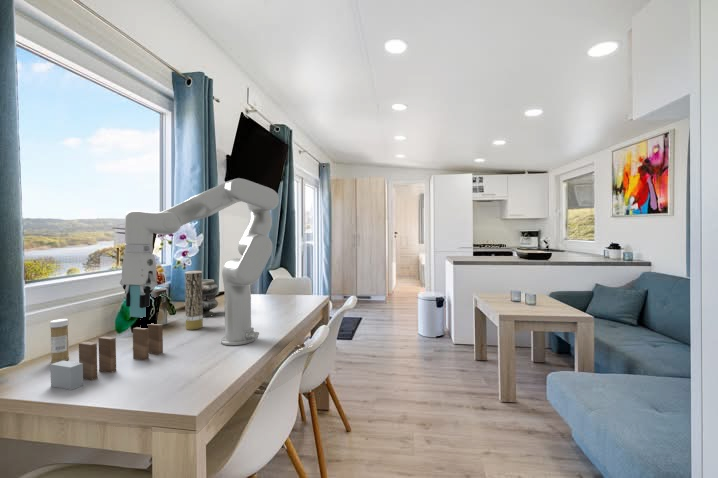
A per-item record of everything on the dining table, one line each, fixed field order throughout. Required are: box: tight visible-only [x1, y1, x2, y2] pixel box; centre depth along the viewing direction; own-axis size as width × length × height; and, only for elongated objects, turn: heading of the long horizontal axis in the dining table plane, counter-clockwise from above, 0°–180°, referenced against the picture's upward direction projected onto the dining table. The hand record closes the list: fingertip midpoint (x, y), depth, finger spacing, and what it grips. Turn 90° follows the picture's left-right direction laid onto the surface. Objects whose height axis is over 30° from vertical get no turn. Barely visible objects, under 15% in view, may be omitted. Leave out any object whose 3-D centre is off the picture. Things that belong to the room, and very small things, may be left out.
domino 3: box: [129, 285, 146, 318], centre depth 111 cm, size 2×5×10 cm, turn 72°
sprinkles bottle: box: [49, 318, 70, 364], centre depth 113 cm, size 5×5×14 cm
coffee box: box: [151, 289, 168, 326], centre depth 157 cm, size 9×6×16 cm
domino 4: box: [132, 326, 150, 361], centre depth 115 cm, size 2×5×10 cm, turn 72°
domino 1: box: [78, 341, 99, 381], centre depth 99 cm, size 2×5×10 cm, turn 71°
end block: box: [49, 360, 84, 391], centre depth 94 cm, size 8×3×6 cm, turn 72°
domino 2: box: [98, 336, 117, 373], centre depth 104 cm, size 2×5×10 cm, turn 71°
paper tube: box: [184, 270, 204, 331], centre depth 152 cm, size 7×7×25 cm
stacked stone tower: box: [202, 279, 219, 318], centre depth 178 cm, size 12×12×18 cm
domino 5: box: [147, 323, 164, 355], centre depth 120 cm, size 2×5×10 cm, turn 71°
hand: (137, 305), depth 111 cm, fingers closed on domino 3, 4 cm apart
